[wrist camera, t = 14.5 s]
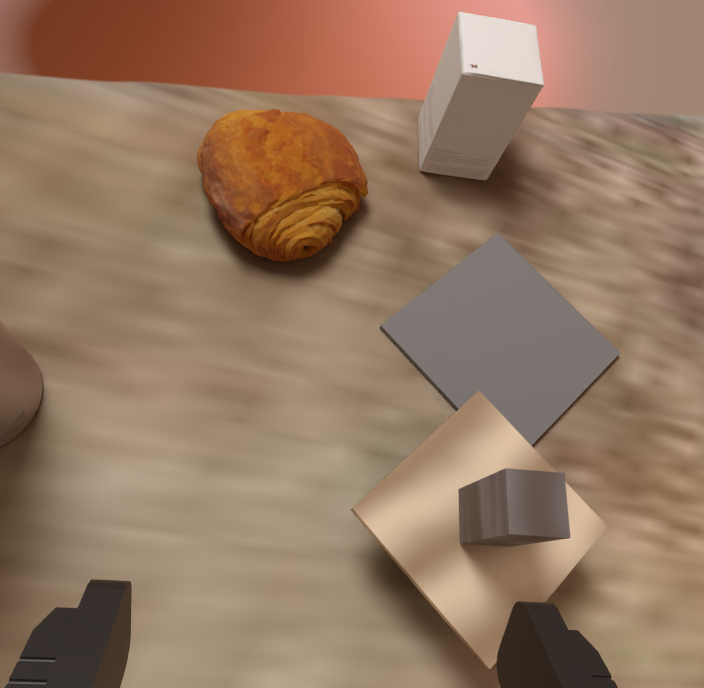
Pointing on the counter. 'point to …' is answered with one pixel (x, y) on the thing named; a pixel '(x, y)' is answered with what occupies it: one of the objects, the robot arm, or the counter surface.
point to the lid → (479, 523)
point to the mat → (501, 339)
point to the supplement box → (478, 95)
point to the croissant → (280, 181)
